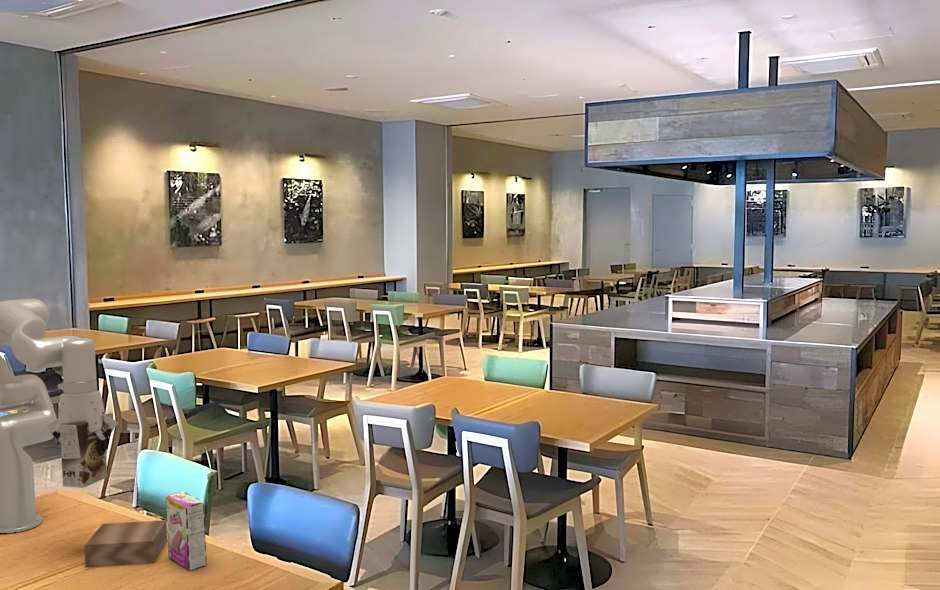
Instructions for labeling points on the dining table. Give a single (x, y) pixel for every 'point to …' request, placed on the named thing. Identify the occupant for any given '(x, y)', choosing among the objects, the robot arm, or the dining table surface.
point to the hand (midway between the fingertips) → (84, 454)
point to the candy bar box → (186, 530)
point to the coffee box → (81, 456)
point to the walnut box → (126, 543)
